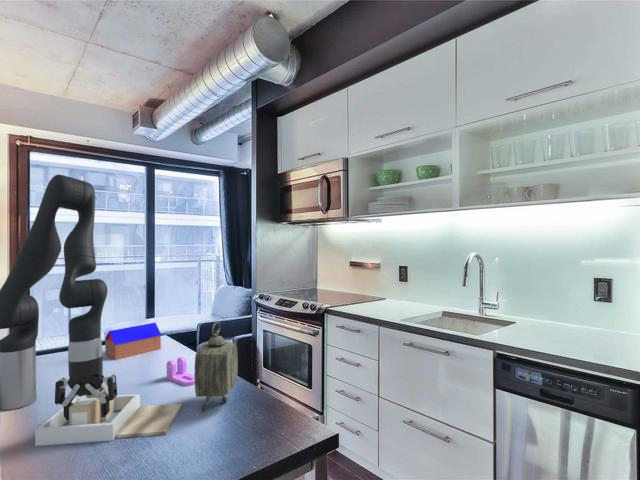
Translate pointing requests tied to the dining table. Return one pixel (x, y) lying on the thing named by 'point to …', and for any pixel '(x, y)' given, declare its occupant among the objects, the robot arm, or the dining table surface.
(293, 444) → the dining table surface
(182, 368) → the bracket
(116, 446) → the dining table surface
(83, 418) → the labelled box
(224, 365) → the tabletop clock
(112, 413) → the plain box
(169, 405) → the board
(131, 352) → the house
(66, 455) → the dining table surface
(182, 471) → the dining table surface
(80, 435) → the bin
